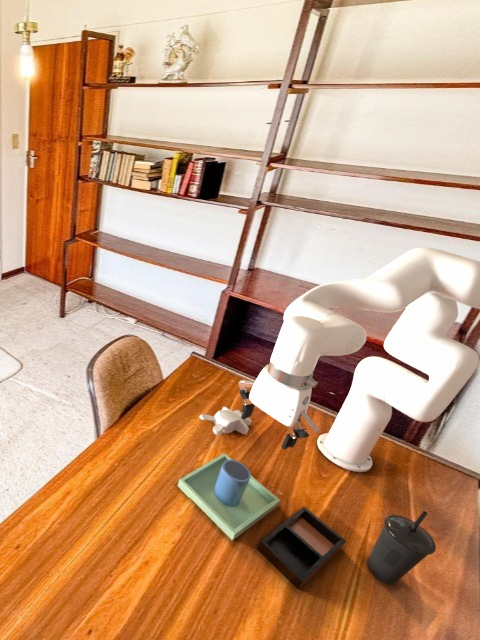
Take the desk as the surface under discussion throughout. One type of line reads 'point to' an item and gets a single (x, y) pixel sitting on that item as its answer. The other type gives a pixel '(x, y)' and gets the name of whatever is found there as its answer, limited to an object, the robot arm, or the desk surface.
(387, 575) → the drinking cup
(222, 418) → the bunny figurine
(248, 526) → the tray
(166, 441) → the desk surface
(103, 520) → the desk surface
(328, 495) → the desk surface
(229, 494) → the blue cup
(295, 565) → the black divided tray
